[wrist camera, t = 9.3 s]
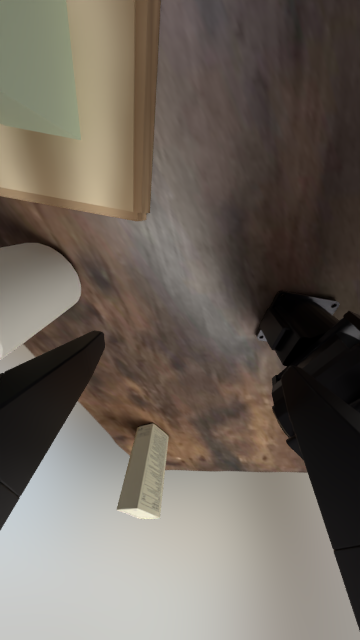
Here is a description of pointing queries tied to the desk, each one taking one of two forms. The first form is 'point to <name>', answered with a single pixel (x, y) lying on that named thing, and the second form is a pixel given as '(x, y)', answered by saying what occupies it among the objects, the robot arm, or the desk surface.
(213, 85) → the desk surface
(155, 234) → the desk surface
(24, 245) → the can
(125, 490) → the skincare box
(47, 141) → the base slab
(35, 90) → the green block
